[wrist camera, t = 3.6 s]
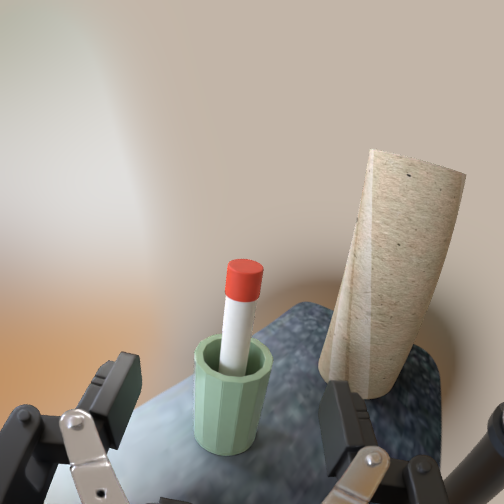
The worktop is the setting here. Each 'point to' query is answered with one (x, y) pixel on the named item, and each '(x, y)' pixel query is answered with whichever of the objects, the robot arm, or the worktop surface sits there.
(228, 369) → the marker
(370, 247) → the tube
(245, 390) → the green pencil holder
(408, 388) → the worktop surface
